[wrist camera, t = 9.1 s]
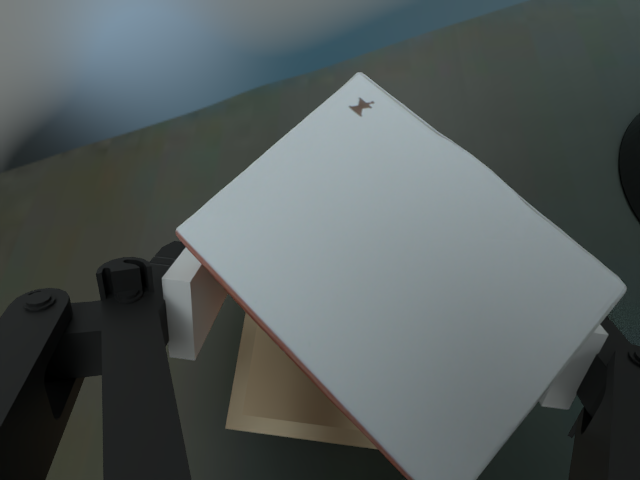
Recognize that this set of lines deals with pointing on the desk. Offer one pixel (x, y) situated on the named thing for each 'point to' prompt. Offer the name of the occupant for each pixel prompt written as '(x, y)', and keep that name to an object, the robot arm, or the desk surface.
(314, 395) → the oak plinth
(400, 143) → the small box
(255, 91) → the desk surface
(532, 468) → the desk surface
